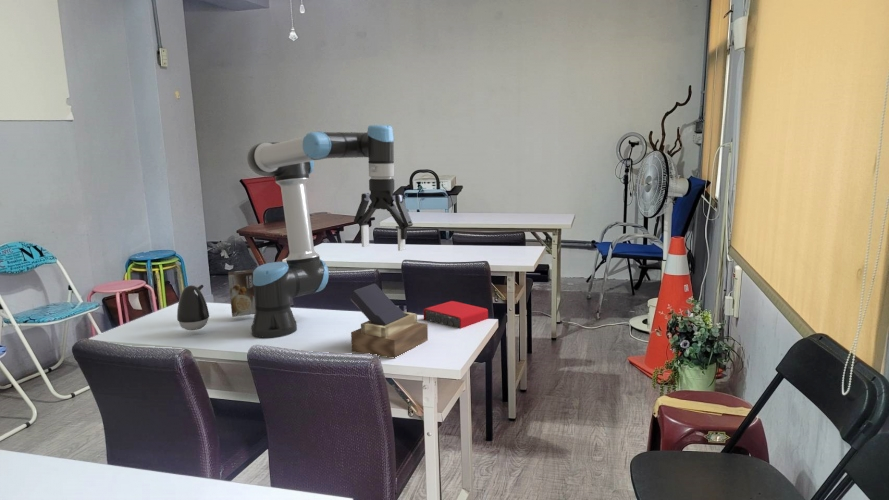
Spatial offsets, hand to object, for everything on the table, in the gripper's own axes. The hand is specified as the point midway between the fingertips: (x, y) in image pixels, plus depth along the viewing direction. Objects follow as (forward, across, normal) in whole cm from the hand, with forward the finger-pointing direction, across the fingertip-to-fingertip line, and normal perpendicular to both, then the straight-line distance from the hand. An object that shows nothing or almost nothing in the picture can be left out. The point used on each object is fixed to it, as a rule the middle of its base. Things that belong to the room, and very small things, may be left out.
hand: (383, 248), depth 181 cm
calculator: (+14, -7, -2) cm, 16 cm away
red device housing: (+31, +7, +32) cm, 45 cm away
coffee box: (+32, -68, +4) cm, 75 cm away
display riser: (+31, +3, -1) cm, 31 cm away
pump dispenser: (+32, -69, -18) cm, 78 cm away
